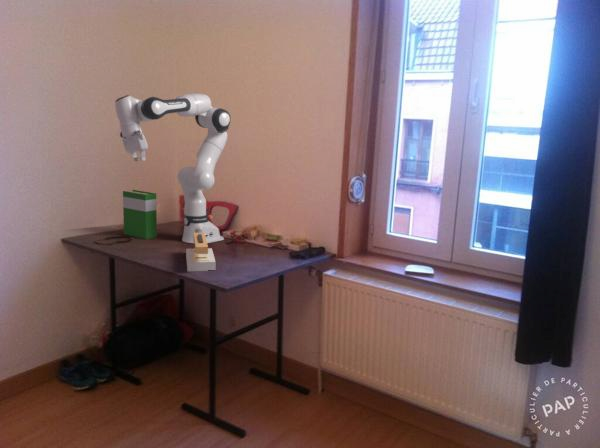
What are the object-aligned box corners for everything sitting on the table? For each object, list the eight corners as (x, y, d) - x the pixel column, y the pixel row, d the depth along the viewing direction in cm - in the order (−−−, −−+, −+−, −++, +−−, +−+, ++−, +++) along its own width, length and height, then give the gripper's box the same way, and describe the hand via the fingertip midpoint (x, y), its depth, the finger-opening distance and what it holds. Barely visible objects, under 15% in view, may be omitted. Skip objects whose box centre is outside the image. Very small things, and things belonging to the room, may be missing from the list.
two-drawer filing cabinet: (185, 254, 252) (185, 237, 251) (211, 253, 255) (211, 237, 254) (187, 271, 225) (187, 253, 223) (215, 270, 228) (215, 252, 226)
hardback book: (123, 234, 287) (122, 191, 283) (134, 232, 294) (133, 189, 289) (146, 239, 278) (145, 194, 274) (156, 237, 285) (156, 193, 280)
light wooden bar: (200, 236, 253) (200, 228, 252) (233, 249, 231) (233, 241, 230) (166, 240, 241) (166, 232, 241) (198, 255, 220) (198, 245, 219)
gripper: (146, 128, 235) (154, 158, 238) (131, 132, 252) (138, 160, 255) (133, 131, 232) (141, 161, 235) (118, 134, 248) (126, 163, 251)
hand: (140, 160), depth 245 cm, fingers open, 8 cm apart
